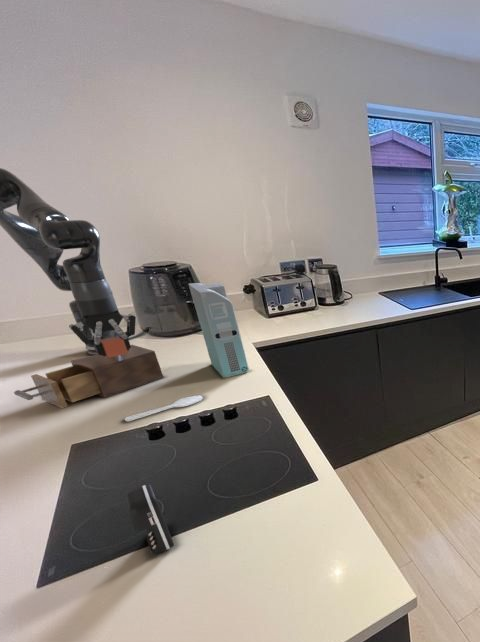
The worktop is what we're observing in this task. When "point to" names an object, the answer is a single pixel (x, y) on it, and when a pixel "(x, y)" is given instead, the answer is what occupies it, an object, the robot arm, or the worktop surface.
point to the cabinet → (122, 370)
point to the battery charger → (149, 518)
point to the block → (114, 346)
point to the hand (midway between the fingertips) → (115, 352)
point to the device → (219, 328)
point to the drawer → (63, 386)
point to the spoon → (167, 407)
